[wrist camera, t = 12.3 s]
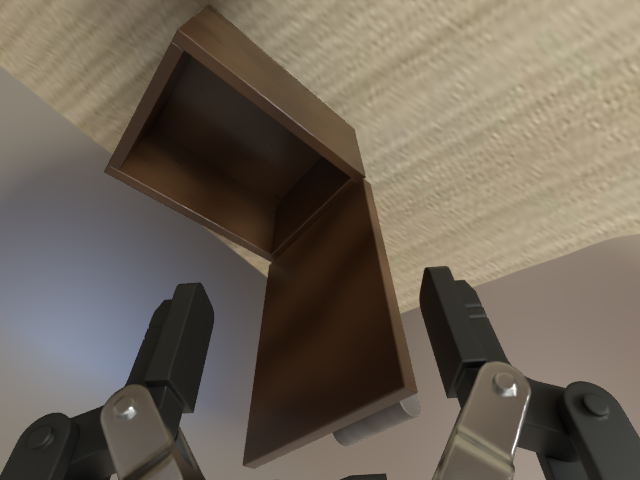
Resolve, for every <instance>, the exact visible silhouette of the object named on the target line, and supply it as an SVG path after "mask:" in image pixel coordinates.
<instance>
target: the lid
mask: <svg viewBox="0 0 640 480" xmlns="http://www.w3.org/2000/svg"><path fill="white" fill-rule="evenodd" d="M419 414H420V402H419V399H418V396H417V387H416V383H415V378H414V373H413V369H412V365H411V360H410V356H409V351H408V347H407V343H406V338H405V334H404V330H403V325H402V321H401V316H400V312H399V307H398V303H397V299H396V294H395V290H394V285H393V281H392V277H391V272H390V268H389V263H388V259H387V255H386V250H385V246H384V241H383V237H382V233H381V228H380V224H379V219H378V215H377V211H376V206H375V202H374V197H373V193H372V189H371V184H370V183H369V182H367V181H366V180H365V179H364V178H362V179H361V180H360V181H359V182H358V183H357V184H356V185H355V186H354V187H353V188H351V189H350V190H349V191H348V192H347V193H346V194H345V195H344V196H343V197H342V198H341V199H340V200H339V201H338V202H337V203H335V204H334V205H333V206H332V207H331V208H330V209H329V210H328V211H327V212H326V213H325V214H324V215H323V216H322V217H321V218H319V219H318V220H317V221H316V222H315V223H314V224H313V225H312V226H311V227H310V228H309V229H308V230H307V231H306V232H304V233H303V234H302V235H301V236H300V237H299V238H298V239H297V240H296V241H295V242H294V243H293V244H292V245H291V246H290V247H288V248H287V249H286V250H285V251H284V252H283V253H282V254H281V255H280V256H279V257H278V258H277V259H276V260H275V261H274V262H272V263H271V264H270V265H269V271H268V279H267V287H266V294H265V301H264V309H263V316H262V324H261V331H260V339H259V346H258V353H257V361H256V369H255V376H254V384H253V391H252V398H251V406H250V413H249V421H248V428H247V436H246V443H245V450H244V458H243V466H245V467H250V468H257V467H259V466H261V465H263V464H265V463H268V462H270V461H272V460H274V459H276V458H278V457H281V456H283V455H285V454H287V453H289V452H291V451H294V450H296V449H298V448H300V447H302V446H304V445H307V444H309V443H311V442H313V441H315V440H317V439H319V438H322V437H324V436H326V435H328V434H330V433H333V435H334V437H335V439H336V440H337V441H338V442H339V443H340V444H341V445H344V446H349V445H351V444H354V443H356V442H358V441H361V440H363V439H365V438H368V437H370V436H373V435H375V434H377V433H380V432H382V431H384V430H387V429H389V428H392V427H394V426H396V425H399V424H401V423H404V422H406V421H408V420H411V419H413V418H415V417H417V416H418V415H419Z"/></svg>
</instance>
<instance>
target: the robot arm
mask: <svg viewBox="0 0 640 480" xmlns="http://www.w3.org/2000/svg"><path fill="white" fill-rule="evenodd" d="M419 300H420V308H421V312H422V316H423V319H424V322H425V326H426V329H427V332H428V336H429V339H430V342H431V345H432V349H433V352H434V356H435V359H436V362H437V366H438V368H439V372H440V376H441V379H442V382H443V385H444V389H445V392H446V396H447V398H458V401H459V404H460V407H461V410H460V412H459V415H458V417H457V419H456V422H455V424H454V427H453V429H452V432H451V434H450V437H449V439H448V442H447V444H446V447H445V449H444V451H443V454H442V456H441V459H440V461H439V464H438V466H437V468H436V470H435V473H434V475H433V477H432V480H513V477H514V471H515V470H514V469H515V467H514V465H513V459H514V455H515V451H516V448H517V447H520V448H524V449H527V450H530V451H534V452H536V455H537V457H538V460H539V463H540V465H541V468H542V470H543V473H544V476H545V478H546V480H640V438H639V436H638V434H637V433H636V431H635V429H634V428H633V426H632V424H631V423H630V421H629V419H628V417H627V416H626V414H625V412H624V411H623V409H622V407H621V406H620V404H619V403H618V401H617V400H616V399H615V398H614V397H613V396H612V395H611V394H610V393H608V392H607V391H606V390H604V389H603V388H601V387H599V386H597V385H595V384H592V383H589V382H583V381H579V382H573V383H571V384H569V385H568V386H567V387H566V388H563V387H559V386H555V385H550V384H546V383H542V382H538V381H535V380H532V379H530V378H527V377H526V376H524V375H523V374H522V373H521V372H520V371H519V370H518V369H516V368H515V367H513V366H512V365H511V364H510V363H509V361H508V360H507V358H506V356H505V354H504V352H503V350H502V347H501V345H500V343H499V341H498V339H497V337H496V334H495V332H494V330H493V328H492V326H491V324H490V321H489V319H488V318H487V316H486V313H485V311H484V308H483V307H482V306H481V302H480V300H479V298H478V295H477V293H476V291H475V290H474V289H473V288H472V287H471V286H470V285H469V284H468V283H467V282H466V281H465V280H457V281H454V278H453V276H452V273H451V271H450V269H449V267H447V266H440V267H426V268H425V270H424V274H423V279H422V284H421V290H420V296H419ZM213 324H214V311H213V307H212V305H211V303H210V301H209V299H208V296H207V294H206V292H205V289H204V287H203V285H202V284H201V283H187V284H179V285H178V286H177V287H176V290H175V292H174V295H173V298H172V300H164V301H163V302H162V303H161V305H160V306H159V307H158V308H157V309H156V311H155V312H154V314H153V316H152V319H151V321H150V324H149V329H147V332H146V334H145V339H144V340H143V342H142V345H141V347H140V350H139V352H138V355H137V357H136V360H135V363H134V365H133V368H132V370H131V373H130V376H129V378H128V380H127V383H126V385H125V386H124V387H123V388H121V389H120V390H118V391H117V392H115V393H114V394H113V395H112V396H111V397H110V398H109V399H108V401H107V402H106V403H105V405H103V406H101V407H99V408H96V409H94V410H91V411H88V412H86V413H83V414H80V415H78V416H75V417H73V418H68V416H66V415H65V414H62V413H51V414H48V415H45V416H43V417H41V418H39V419H38V420H36V421H35V422H34V423H32V424H31V425H30V426H29V427H28V428H27V429H26V430H25V431H24V432H23V434H22V435H21V436H20V438H19V440H18V442H17V443H16V446H15V448H14V449H13V451H12V454H11V455H10V457H9V460H8V461H7V463H6V465H5V467H4V469H3V471H2V473H1V475H0V480H110V477H111V475H112V474H114V473H117V477H118V480H206V479H205V477H204V476H203V474H202V472H201V470H200V468H199V466H198V464H197V462H196V459H195V458H194V455H193V453H192V451H191V449H190V447H189V445H188V443H187V441H186V439H185V437H184V434H183V432H182V430H181V428H180V427H179V423H180V419H181V415H182V413H193V412H194V408H195V403H196V399H197V395H198V390H199V386H200V381H201V377H202V373H203V368H204V364H205V360H206V355H207V350H208V346H209V342H210V337H211V333H212V329H213ZM341 480H387V477H386V474H370V475H352V476H348V477H346V478H343V479H341Z"/></svg>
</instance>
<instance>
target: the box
mask: <svg viewBox="0 0 640 480" xmlns="http://www.w3.org/2000/svg"><path fill="white" fill-rule="evenodd" d="M104 172H105V173H107V174H109V175H111V176H112V177H114V178H116V179H118V180H120V181H122V182H124V183H125V184H127V185H129V186H131V187H133V188H135V189H136V190H138V191H140V192H142V193H144V194H146V195H148V196H150V197H151V198H153V199H155V200H157V201H159V202H161V203H163V204H164V205H166V206H168V207H170V208H172V209H174V210H175V211H177V212H179V213H181V214H183V215H185V216H187V217H189V218H190V219H192V220H194V221H196V222H198V223H200V224H201V225H203V226H205V227H207V228H209V229H211V230H213V231H214V232H216V233H218V234H220V235H222V236H224V237H226V238H227V239H229V240H231V241H233V242H235V243H237V244H239V245H240V246H242V247H244V248H246V249H248V250H250V251H252V252H253V253H255V254H257V255H259V256H261V257H263V258H264V259H266V260H268V261H270V262H274V261H275V260H276V259H277V258H278V257H279V256H280V255H281V254H282V253H283V252H284V251H285V250H286V249H287V248H288V247H290V246H291V245H292V244H293V243H294V242H295V241H296V240H297V239H298V238H299V237H300V236H301V235H302V234H303V233H304V232H306V231H307V230H308V229H309V228H310V227H311V226H312V225H313V224H314V223H315V222H316V221H317V220H318V219H319V218H321V217H322V216H323V215H324V214H325V213H326V212H327V211H328V210H329V209H330V208H331V207H332V206H333V205H334V204H335V203H337V202H338V201H339V200H340V199H341V198H342V197H343V196H344V195H345V194H346V193H347V192H348V191H349V190H350V189H351V188H353V187H354V186H355V185H356V184H357V183H358V182H359V181H360V180H361V179H362V178H365V177H366V176H365V172H364V168H363V164H362V159H361V155H360V151H359V147H358V142H357V138H356V134H355V130H354V129H353V128H352V127H351V126H350V125H349V124H348V123H346V122H345V121H344V120H343V119H342V118H341V117H339V116H338V115H337V114H336V113H335V112H334V111H332V110H331V109H330V108H329V107H328V106H327V105H325V104H324V103H323V102H322V101H321V100H320V99H318V98H317V97H316V96H315V95H314V94H313V93H311V92H310V91H309V90H308V89H307V88H306V87H305V86H303V85H302V84H301V83H300V82H299V81H298V80H296V79H295V78H294V77H293V76H292V75H291V74H289V73H288V72H287V71H286V70H285V69H284V68H282V67H281V66H280V65H279V64H278V63H277V62H275V61H274V60H273V59H272V58H271V57H270V56H268V55H267V54H266V53H265V52H264V51H263V50H261V49H260V48H259V47H258V46H257V45H256V44H254V43H253V42H252V41H251V40H250V39H249V38H247V37H246V36H245V35H244V34H243V33H242V32H240V31H239V30H238V29H237V28H236V27H235V26H233V25H232V24H231V23H230V22H229V21H228V20H226V19H225V18H224V17H223V16H222V15H221V14H219V13H218V12H217V11H216V10H215V9H214V8H212V7H211V6H210V5H207V6H206V7H205V8H204V9H202V10H201V11H200V12H199V13H197V14H196V15H195V16H194V17H192V18H191V19H190V20H189V21H187V22H186V23H185V24H184V25H182V26H181V27H180V28H179V29H178V30H177V31H176V33H175V35H174V37H173V39H172V42H171V43H170V45H169V47H168V49H167V51H166V53H165V55H164V57H163V59H162V61H161V63H160V64H159V66H158V68H157V70H156V72H155V74H154V76H153V78H152V80H151V82H150V84H149V86H148V88H147V90H146V92H145V93H144V95H143V97H142V99H141V101H140V103H139V105H138V107H137V109H136V111H135V113H134V115H133V117H132V119H131V120H130V122H129V124H128V126H127V128H126V130H125V132H124V134H123V136H122V138H121V140H120V142H119V144H118V146H117V148H116V149H115V151H114V153H113V155H112V157H111V159H110V161H109V163H108V165H107V167H106V169H105V171H104Z"/></svg>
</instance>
